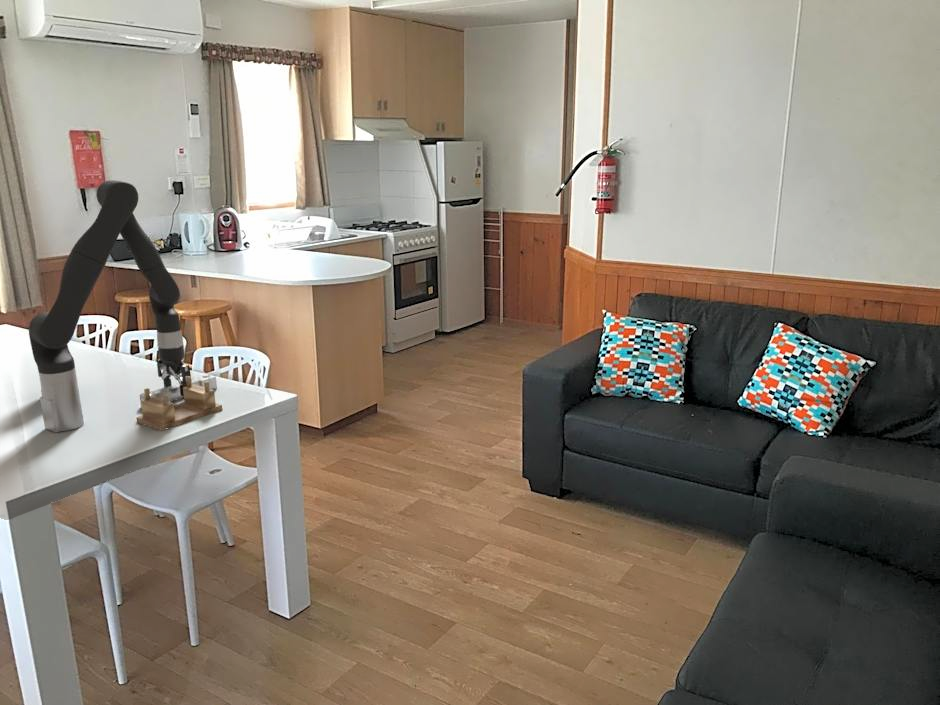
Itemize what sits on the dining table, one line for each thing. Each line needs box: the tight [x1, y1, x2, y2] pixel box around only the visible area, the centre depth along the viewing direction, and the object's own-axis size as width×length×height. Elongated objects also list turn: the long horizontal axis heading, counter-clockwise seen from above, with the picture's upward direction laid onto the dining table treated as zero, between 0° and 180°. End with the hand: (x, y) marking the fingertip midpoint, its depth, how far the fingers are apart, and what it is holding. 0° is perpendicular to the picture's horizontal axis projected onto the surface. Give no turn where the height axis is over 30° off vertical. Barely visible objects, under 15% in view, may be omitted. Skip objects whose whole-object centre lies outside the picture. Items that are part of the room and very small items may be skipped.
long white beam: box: [139, 373, 218, 409], centre depth 241 cm, size 26×5×4 cm, turn 145°
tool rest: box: [135, 375, 223, 431], centre depth 225 cm, size 21×12×10 cm, turn 145°
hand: (176, 393), depth 241 cm, fingers open, 8 cm apart
